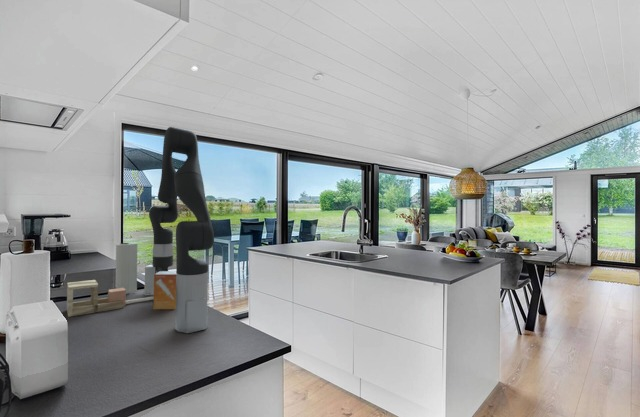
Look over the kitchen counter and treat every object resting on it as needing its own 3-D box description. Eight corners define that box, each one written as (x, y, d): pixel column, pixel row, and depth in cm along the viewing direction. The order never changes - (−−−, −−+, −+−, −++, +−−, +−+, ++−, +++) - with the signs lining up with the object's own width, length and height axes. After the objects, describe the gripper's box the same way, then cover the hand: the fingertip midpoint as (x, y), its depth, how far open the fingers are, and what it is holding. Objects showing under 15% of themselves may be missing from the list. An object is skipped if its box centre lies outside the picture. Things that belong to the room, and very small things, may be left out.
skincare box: (155, 295, 137) (155, 266, 137) (144, 295, 136) (144, 267, 135) (158, 291, 142) (159, 264, 142) (148, 291, 141) (148, 264, 141)
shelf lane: (123, 307, 119) (123, 281, 119) (68, 316, 108) (68, 287, 108) (119, 302, 126) (119, 277, 126) (66, 310, 115) (67, 282, 115)
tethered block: (168, 299, 131) (168, 284, 131) (109, 308, 118) (110, 292, 118) (164, 296, 134) (165, 282, 134) (107, 305, 121) (108, 289, 121)
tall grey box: (111, 293, 137) (112, 243, 137) (125, 290, 143) (126, 242, 143) (123, 296, 134) (124, 244, 134) (136, 292, 140) (137, 243, 140)
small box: (152, 310, 117) (153, 274, 117) (159, 304, 123) (159, 270, 123) (176, 309, 118) (177, 273, 118) (181, 304, 124) (182, 270, 124)
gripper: (178, 256, 129) (177, 296, 128) (167, 252, 139) (167, 289, 139) (157, 257, 124) (156, 300, 124) (148, 253, 134) (147, 292, 134)
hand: (162, 294), depth 131 cm, fingers open, 8 cm apart
